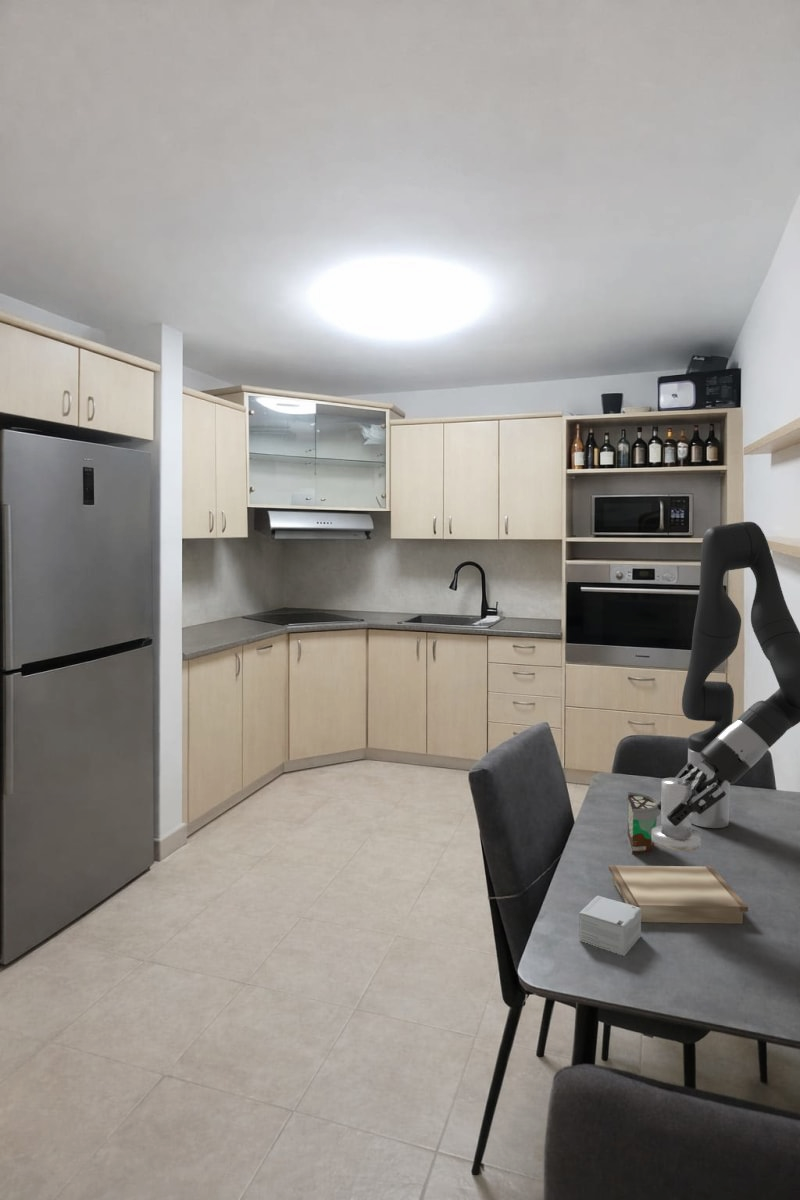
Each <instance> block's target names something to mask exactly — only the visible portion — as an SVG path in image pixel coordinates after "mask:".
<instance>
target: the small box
mask: <svg viewBox="0 0 800 1200" xmlns="http://www.w3.org/2000/svg"><path fill="white" fill-rule="evenodd" d="M578 915H579V920H578V921H579V923H578V924H579V926H578V928H579V929H578V930H579V931H578V934H579V935H578V936H579V937H578V942H580V941H582V942H581V943H583V942H585V943H584V944H586V943H588V944H587V945H589V944H591V945H590V946H592V945H593V947H595V946H596V948H598V947H599V949H602V950H604V949H605V951H607V952H610V951H611V953H613V954H616V953H617V955H619V956H622V955H623V957H625V956H626V955H627V954H628V952H629V951H630V950H631V949H632V947H633V946H634V945H635V944H637V943H636V942H637V941H638V940H639V939H640V938H641V937H642V922H641V908H639V907H636V906H633V905H630V904H626V903H625V902H621V901H618V900H614V899H611V898H608V897H604V896H601V895H596V896H595V897H594V898H593V899H592V900H591V901H590V902H589V903H588V904H587V905H586V906H585V907H584V908H583V909H582V910H581V911H579V913H578Z"/></svg>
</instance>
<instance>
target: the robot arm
mask: <svg viewBox="0 0 800 1200" xmlns="http://www.w3.org/2000/svg"><path fill="white" fill-rule="evenodd" d="M700 550H701V551H700V572H699V573H700V577H699V580H700V581H699V589H698V591H699V592H698V599H697V606H696V610H695V611H696V612H695V618H694V624H693V631H692V639H691V640H692V641H691V648H690V650H691V651H690V658H689V665H688V669H687V674H686V677H685V683H684V686H683V692H682V698H681V708H682V709H681V710H682V713H683V715H684V716H685V718H687V719H689V720H690V721H691V720H692V721H698V722H699V721H701V722H714V723H713V724H712V725H711V726H710V727H708V728H706V729H704V730H702V731H698V732H696V733H695V732H694V733H692V734H690V735H689V736H688V740H687V763H685V765H684V766H683V767H682V769H681V770H680V771H679V772H678V774H677V775H676V776H675V777H674V778H682V779H686V780H689V781H691V782H692V785H691V787H690V788H689V790H688V795H687V796H686V798H685V799H684V800H683V802H682V803H683V804H682V803H680V804H679V805H678V806H677V807H676V808H675V809H674V810H673V811H672V812H670V813H669V814H668V815H667V819H668V820H669V821H670V822H671V823H672V824H673V825H674V826H677V825H678V824H679V823H681V822H682V821H683V820H684V819H685V818H686V817H687V816H688V815H689V814H690V813H691V812H692V824H693V825H694V826H699V827H701V828H708V829H723V828H726V827H728V826H729V824H730V823H729V821H730V798H731V797H730V796H731V794H730V790H731V789H730V788H731V785H734V784H735V783H736V782H738V780H739V779H741V778H742V777H743V775H745V774H746V773H747V772H748V771H749V770H750V769H751V768H753V767H754V765H756V764H757V762H759V761H760V760H761V758H762V757H764V756H765V754H766V753H767V751H768V750H769V749H770V748H771V747H772V746H773V745H774V744H776V742H777V741H779V740H780V738H782V737H783V735H785V734H786V732H787V731H788V730H790V729H792V728H793V727H795V726H796V725H798V724H800V630H799V628H798V627H797V624H796V622H795V620H794V617H793V616H792V614H791V612H790V609H789V607H788V604H787V602H786V599H785V596H784V593H783V591H782V587H781V583H780V579H779V576H778V572H777V569H776V566H775V563H774V559H773V556H772V551H771V549H770V545H769V542H768V540H767V537H766V535H765V533H764V531H763V529H762V528H761V527H760V525H758V524H757V523H755V522H753V521H742V522H741V521H740V522H736V523H735V522H734V523H727V524H722V525H720V524H719V525H715V526H712V527H709V528H708V529H706V531H705V532H704V535H703V537H702V541H701V549H700ZM747 568H750V570H751V572H752V573H753V575H754V578H755V585H756V586H755V592H754V598H753V602H752V605H751V609H750V622H751V627H752V630H753V632H754V635H755V638H756V640H757V641H758V644H759V647H760V648H761V651H762V652H763V654H764V656H765V658H766V659H767V660H768V661H769V664H770V666H771V669H772V671H773V674H774V677H775V678H776V681H777V683H778V686H779V688H778V689H777V690H776V691H775V692H774V693H772V694H771V695H770V696H769V697H768V698H767V699H765V700H760V701H759V700H758V701H755V703H753V704H752V705H750V706H749V708H747V710H745V711H744V712H743V713H742V714H741V715H740V716H739V717H738V718H737V719H736V720H734V722H733V718H734V717H733V716H734V708H735V705H734V704H735V694H734V693H735V692H734V690H733V686H732V685H731V683H730V682H726V681H713V680H711V681H710V680H708V681H707V679H708V677H709V675H710V674H711V673H712V672H713V671H715V669H717V668H718V667H719V666H720V665H722V664H723V663H724V662H725V661H726V660H727V659H728V658H729V657H730V656H731V655H732V654H733V653H734V652H735V650H736V648H737V646H738V642H739V639H740V633H741V627H742V617H741V614H740V612H739V610H738V608H737V607H736V605H735V604H734V602H733V601H732V599H731V598H730V596H729V595H728V594H727V592H726V590H725V588H724V579H725V574H726V573H727V572H729V571H734V570H740V569H747ZM691 799H692V800H691ZM657 808H658V809H659V810H660V812H661V800H660V801H659V802H658V804H657Z"/></svg>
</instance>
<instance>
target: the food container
mask: <svg viewBox="0 0 800 1200" xmlns="http://www.w3.org/2000/svg"><path fill="white" fill-rule="evenodd" d="M626 800H627V841H628V845H629V848H630V851H631V855H644V854H645V855H646V854H649V853H652V852H653V851H654V849H655V843H654V842H653V841H652V839H651V833H652V829H653V828H654V827H656V826H657V820H658V819H657V818H658V816H659V817H660V816H661V811H660V810H659V809H658V808H657V804H658V803H659V802H658V800H657V799H656V798H654V797H652V796H651V795H648V794H643V793H639V792H634V791H633V792H631V791H627V799H626Z"/></svg>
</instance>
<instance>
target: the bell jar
mask: <svg viewBox="0 0 800 1200" xmlns="http://www.w3.org/2000/svg"><path fill="white" fill-rule="evenodd" d="M691 785H692V782H691V781H689V780H686V779H682V778H675V777H664V778H662V779H661V793H660V794H661V796H660V797H661V798H660V799H661V800H660V801H661V811H660V825H656V827H654V828H653V829H652V833H651V839H652V841H653V842H654V845H657V846H658V847H661V848H663V849H667V850H674V851H683V852H684V851H685V852H689V851H690V852H691V851H694V850H697V849H700V847H702V835H701V834H700V832H698V831H697V830H695V829H692V827H693V825H692V812H691V813H690V814H689V815H688V816H687V817H686V818H685V819H684V820H683V821H682V822H681V823H679V824H678V825H677V826H674V825H673V824H672V823H671V822H670V821H669V820H668V819H667V815H668V814H669V813H670V812H672V811H673V810H674V809H675V808H676V807H677V806H678V805H679V804H680V803H682V802H683V800H684V799H685V798H686V796H687V795H688V790H689V788H690V787H691ZM691 800H692V799H691ZM682 804H683V803H682Z"/></svg>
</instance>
